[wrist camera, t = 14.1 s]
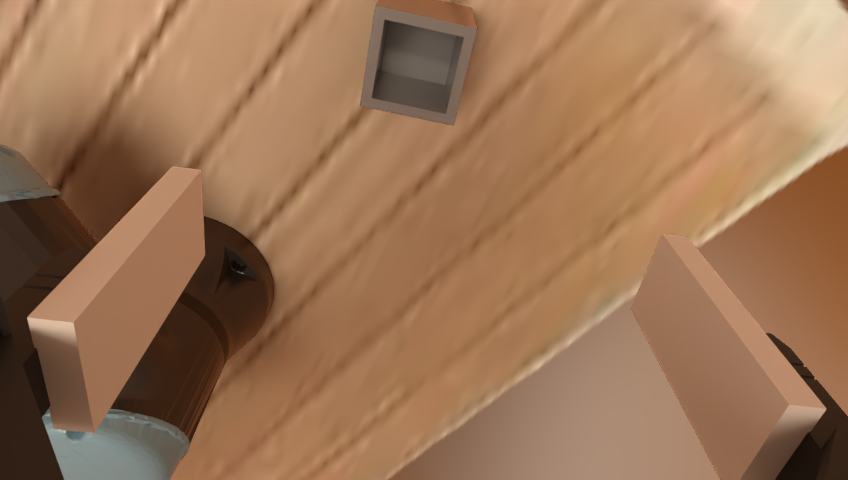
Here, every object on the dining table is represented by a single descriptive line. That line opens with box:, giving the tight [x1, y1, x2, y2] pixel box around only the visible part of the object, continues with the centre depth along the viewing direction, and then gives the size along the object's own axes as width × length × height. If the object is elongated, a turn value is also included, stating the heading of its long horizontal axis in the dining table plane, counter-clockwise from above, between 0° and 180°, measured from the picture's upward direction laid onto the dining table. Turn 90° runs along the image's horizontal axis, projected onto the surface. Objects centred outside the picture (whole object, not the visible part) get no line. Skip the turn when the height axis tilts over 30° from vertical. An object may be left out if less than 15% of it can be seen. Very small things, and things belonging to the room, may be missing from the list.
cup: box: [360, 0, 477, 126], centre depth 41 cm, size 7×7×8 cm
